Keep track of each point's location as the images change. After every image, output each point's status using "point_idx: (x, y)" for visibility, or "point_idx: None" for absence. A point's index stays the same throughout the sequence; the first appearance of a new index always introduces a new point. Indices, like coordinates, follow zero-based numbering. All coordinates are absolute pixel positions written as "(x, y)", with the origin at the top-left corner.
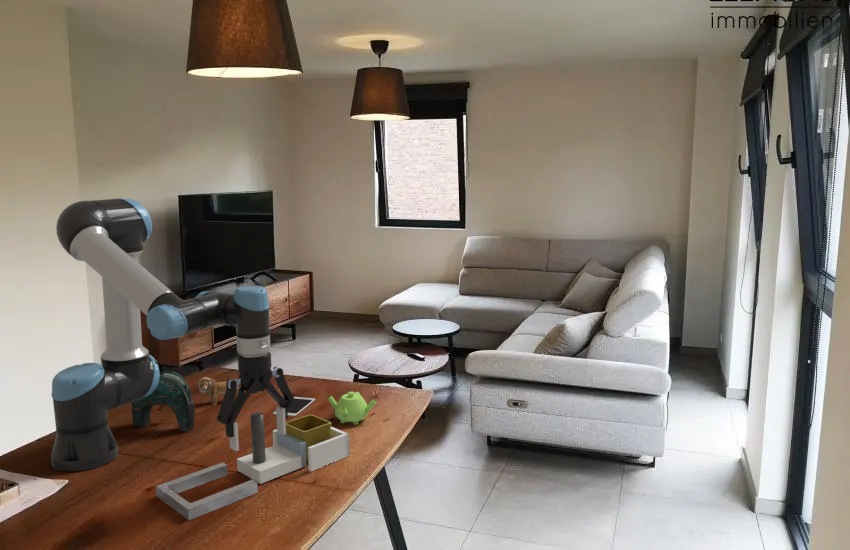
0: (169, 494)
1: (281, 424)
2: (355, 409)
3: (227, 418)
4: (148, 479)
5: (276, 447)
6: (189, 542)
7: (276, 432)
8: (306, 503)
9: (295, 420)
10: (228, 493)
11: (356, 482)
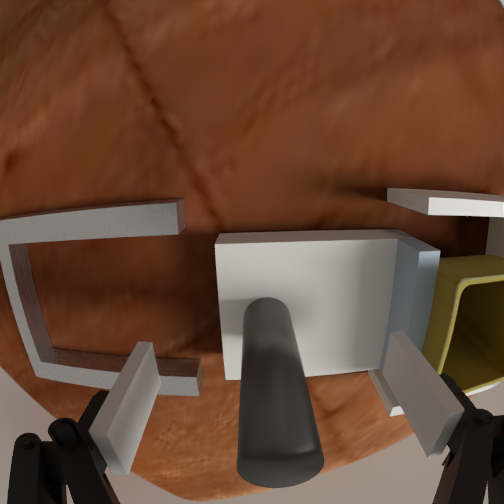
0: (9, 289)
1: (400, 391)
2: None
3: (63, 493)
4: (25, 103)
5: (378, 261)
6: (47, 411)
7: (432, 213)
8: None
9: (498, 280)
10: None
11: (380, 445)
